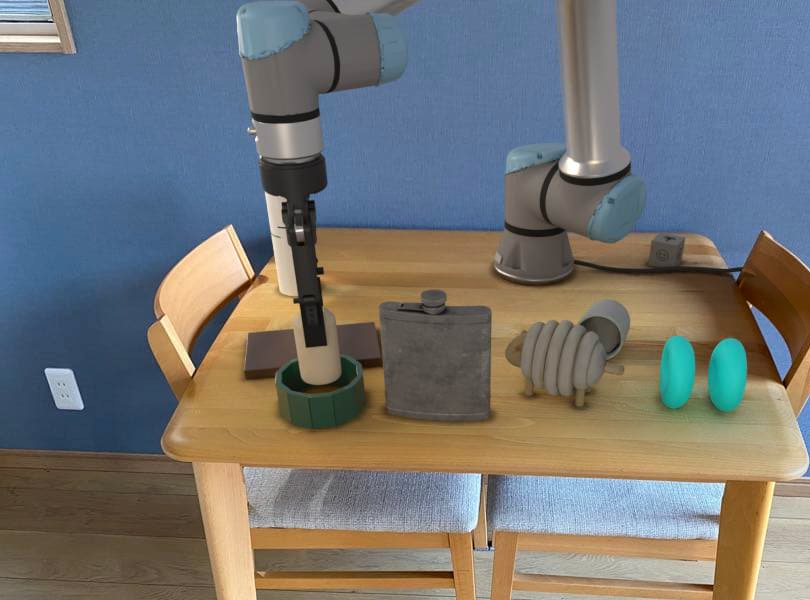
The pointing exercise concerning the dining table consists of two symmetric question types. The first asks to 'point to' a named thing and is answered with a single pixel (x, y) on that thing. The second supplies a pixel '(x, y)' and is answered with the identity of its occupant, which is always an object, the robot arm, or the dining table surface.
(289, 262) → the cylindrical container
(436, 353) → the flask
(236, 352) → the dining table surface
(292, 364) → the segmented bracelet
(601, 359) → the toy sheep
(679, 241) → the grey engraved cube
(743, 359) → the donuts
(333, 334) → the candle
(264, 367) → the walnut board
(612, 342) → the ceramic mug
